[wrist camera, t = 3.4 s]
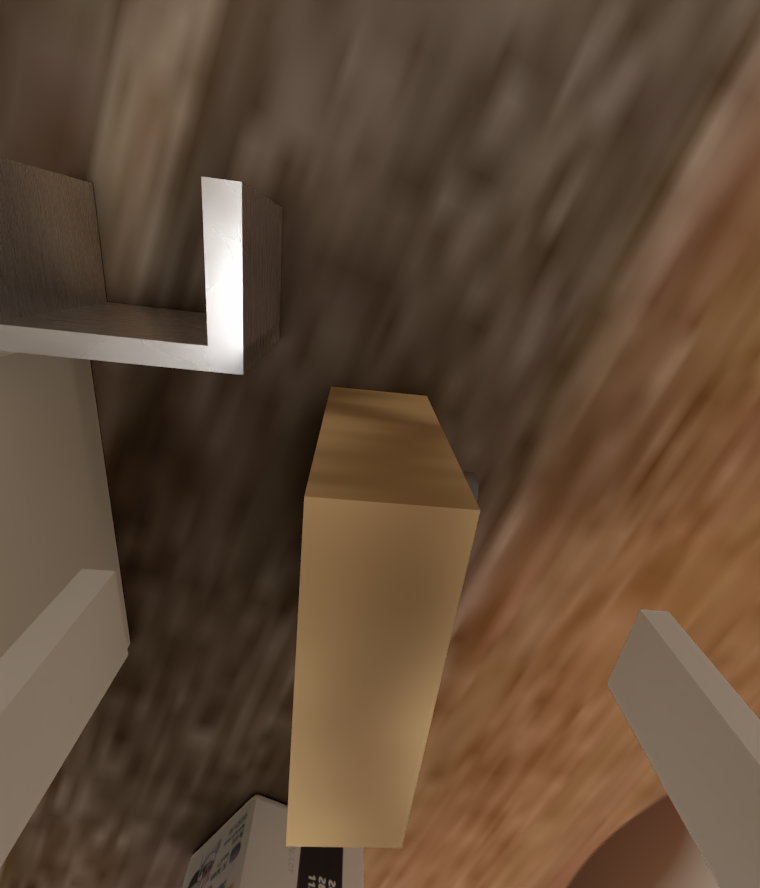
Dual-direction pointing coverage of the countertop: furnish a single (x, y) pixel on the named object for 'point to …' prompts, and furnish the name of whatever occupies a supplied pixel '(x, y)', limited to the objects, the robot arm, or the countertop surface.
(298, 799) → the oak door
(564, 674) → the countertop surface
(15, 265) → the bracket
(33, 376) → the block
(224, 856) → the container
